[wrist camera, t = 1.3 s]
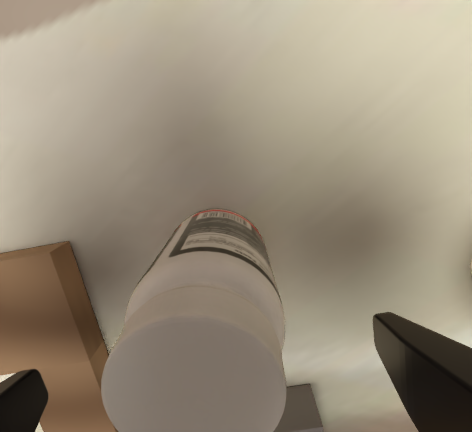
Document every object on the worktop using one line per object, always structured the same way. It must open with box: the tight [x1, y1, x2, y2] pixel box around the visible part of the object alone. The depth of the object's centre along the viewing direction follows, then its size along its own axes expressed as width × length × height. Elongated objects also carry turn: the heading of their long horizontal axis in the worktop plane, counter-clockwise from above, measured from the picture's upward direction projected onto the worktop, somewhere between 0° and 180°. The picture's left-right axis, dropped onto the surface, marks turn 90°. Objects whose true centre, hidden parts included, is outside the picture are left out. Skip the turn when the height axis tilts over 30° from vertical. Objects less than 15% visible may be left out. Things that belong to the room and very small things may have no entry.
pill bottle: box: [101, 209, 287, 432], centre depth 10 cm, size 5×5×8 cm
